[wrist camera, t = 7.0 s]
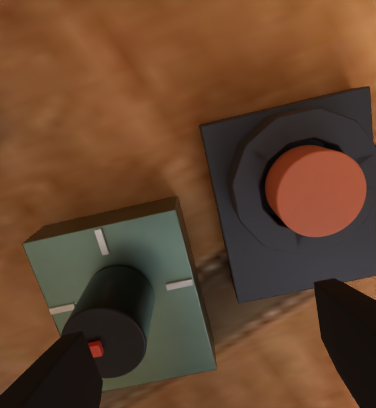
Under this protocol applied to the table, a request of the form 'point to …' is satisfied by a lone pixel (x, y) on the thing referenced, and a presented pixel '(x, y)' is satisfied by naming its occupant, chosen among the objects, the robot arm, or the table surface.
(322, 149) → the button
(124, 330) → the lock dial
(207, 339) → the dial panel
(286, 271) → the base
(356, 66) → the table surface
